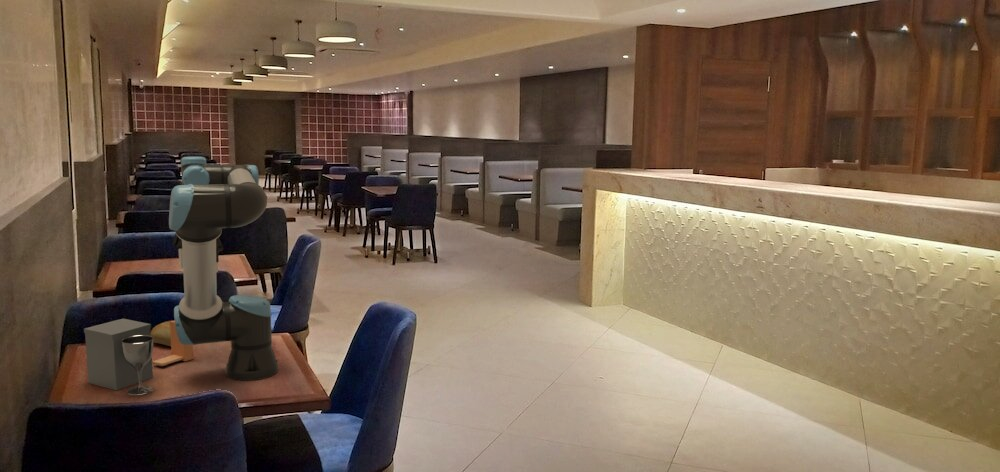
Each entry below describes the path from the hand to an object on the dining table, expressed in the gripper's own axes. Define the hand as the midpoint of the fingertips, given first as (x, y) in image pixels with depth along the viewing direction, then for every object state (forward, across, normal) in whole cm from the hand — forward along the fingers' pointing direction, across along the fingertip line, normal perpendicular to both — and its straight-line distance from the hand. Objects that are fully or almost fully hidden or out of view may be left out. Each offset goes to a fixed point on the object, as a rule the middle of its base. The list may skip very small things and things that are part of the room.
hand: (198, 270), depth 247 cm
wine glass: (+27, -14, +35) cm, 46 cm away
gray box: (+27, -2, +32) cm, 42 cm away
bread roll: (+27, +13, +1) cm, 30 cm away
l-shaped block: (+26, -3, +14) cm, 30 cm away
